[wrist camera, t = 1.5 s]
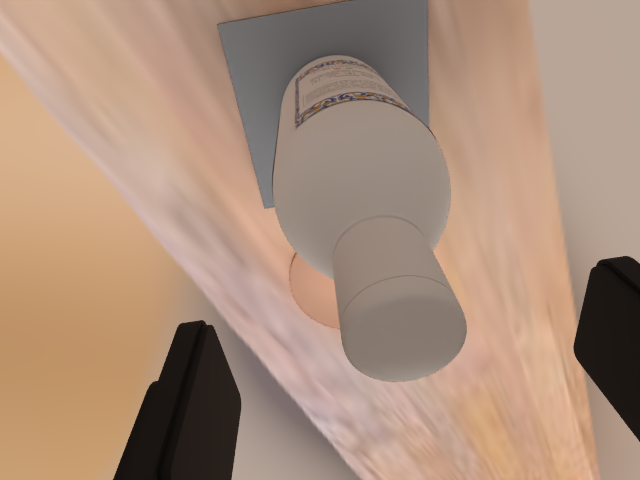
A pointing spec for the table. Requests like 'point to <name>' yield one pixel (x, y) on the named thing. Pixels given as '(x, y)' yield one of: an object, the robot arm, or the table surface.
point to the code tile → (316, 42)
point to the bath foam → (369, 215)
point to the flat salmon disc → (314, 293)
